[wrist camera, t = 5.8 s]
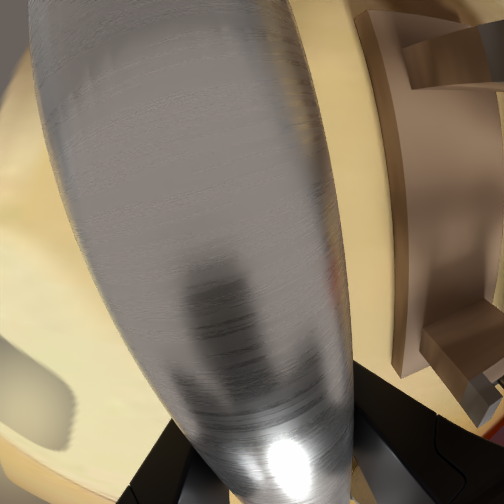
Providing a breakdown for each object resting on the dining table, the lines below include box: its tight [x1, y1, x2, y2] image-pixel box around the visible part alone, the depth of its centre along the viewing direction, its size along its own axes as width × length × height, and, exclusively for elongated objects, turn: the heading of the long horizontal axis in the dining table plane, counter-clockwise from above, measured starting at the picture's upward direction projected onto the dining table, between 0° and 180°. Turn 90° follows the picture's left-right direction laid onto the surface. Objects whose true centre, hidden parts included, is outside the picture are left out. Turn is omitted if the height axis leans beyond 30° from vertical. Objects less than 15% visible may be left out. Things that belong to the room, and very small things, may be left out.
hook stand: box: [354, 10, 504, 428], centre depth 10 cm, size 21×8×8 cm, turn 14°
